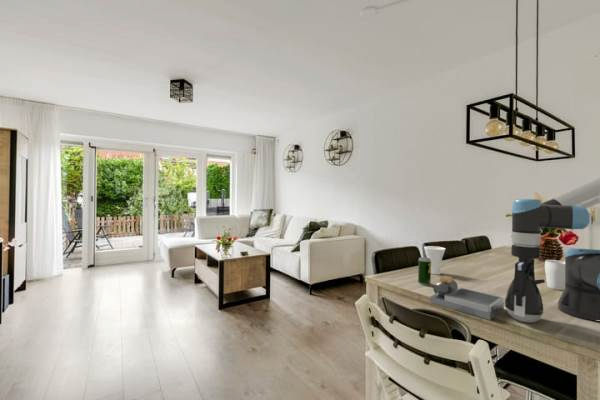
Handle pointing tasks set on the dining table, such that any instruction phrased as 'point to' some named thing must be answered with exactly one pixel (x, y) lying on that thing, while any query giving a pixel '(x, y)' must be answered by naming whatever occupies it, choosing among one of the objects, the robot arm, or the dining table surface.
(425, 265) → the green soda can
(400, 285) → the dining table surface
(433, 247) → the cup
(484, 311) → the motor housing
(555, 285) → the cup
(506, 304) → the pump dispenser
